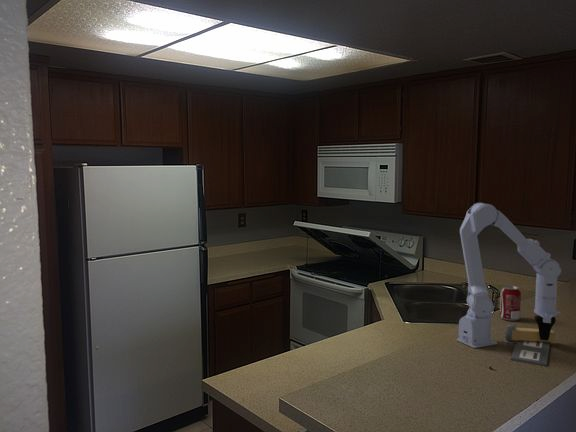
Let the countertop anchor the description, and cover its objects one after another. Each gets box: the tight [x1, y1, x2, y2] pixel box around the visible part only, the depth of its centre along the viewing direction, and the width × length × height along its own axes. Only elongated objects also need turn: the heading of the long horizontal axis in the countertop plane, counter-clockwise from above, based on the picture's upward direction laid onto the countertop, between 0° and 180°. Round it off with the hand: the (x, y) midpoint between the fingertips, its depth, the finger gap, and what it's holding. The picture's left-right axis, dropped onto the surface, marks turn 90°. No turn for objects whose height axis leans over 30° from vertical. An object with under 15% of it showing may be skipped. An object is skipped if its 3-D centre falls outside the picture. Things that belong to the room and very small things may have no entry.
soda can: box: [499, 285, 522, 322], centre depth 176 cm, size 7×7×12 cm
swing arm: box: [504, 324, 556, 343], centre depth 151 cm, size 14×3×4 cm, turn 81°
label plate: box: [502, 338, 551, 367], centre depth 144 cm, size 22×13×1 cm, turn 149°
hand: (544, 339), depth 148 cm, fingers closed
